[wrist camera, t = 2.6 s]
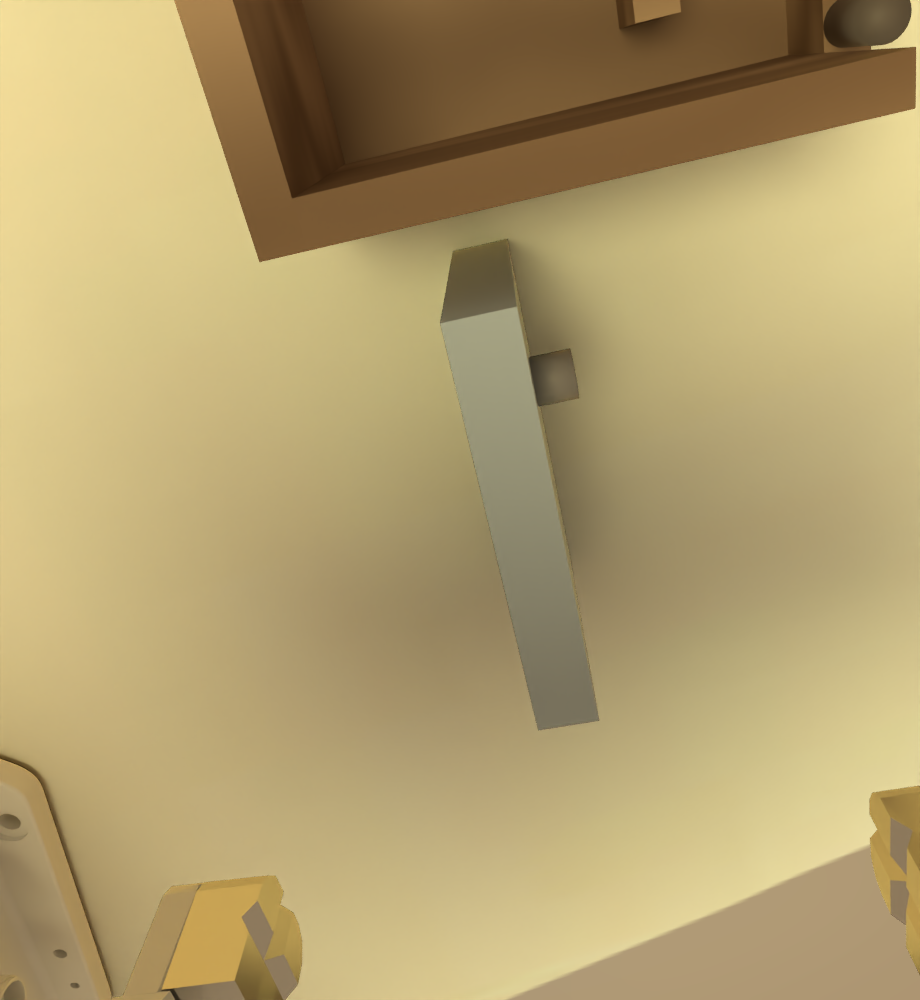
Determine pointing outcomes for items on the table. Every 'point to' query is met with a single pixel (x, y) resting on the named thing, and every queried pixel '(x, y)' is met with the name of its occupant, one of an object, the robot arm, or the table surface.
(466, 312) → the door
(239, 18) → the wooden box
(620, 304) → the table surface
